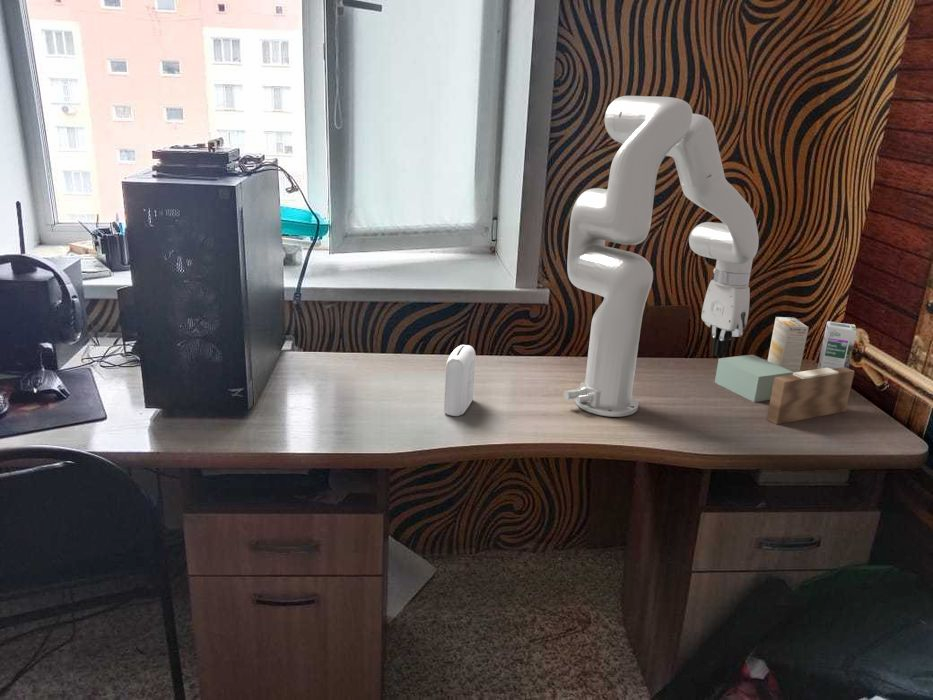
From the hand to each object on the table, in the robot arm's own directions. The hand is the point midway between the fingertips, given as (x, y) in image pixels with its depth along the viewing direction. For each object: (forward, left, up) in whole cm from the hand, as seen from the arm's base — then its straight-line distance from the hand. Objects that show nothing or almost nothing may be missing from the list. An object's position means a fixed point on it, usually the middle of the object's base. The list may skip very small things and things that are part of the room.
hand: (718, 354), depth 173 cm
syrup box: (+20, -15, -5) cm, 25 cm away
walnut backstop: (0, -26, -4) cm, 26 cm away
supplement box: (+15, -6, -5) cm, 17 cm away
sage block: (0, -11, -5) cm, 12 cm away
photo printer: (-66, +1, -5) cm, 66 cm away
